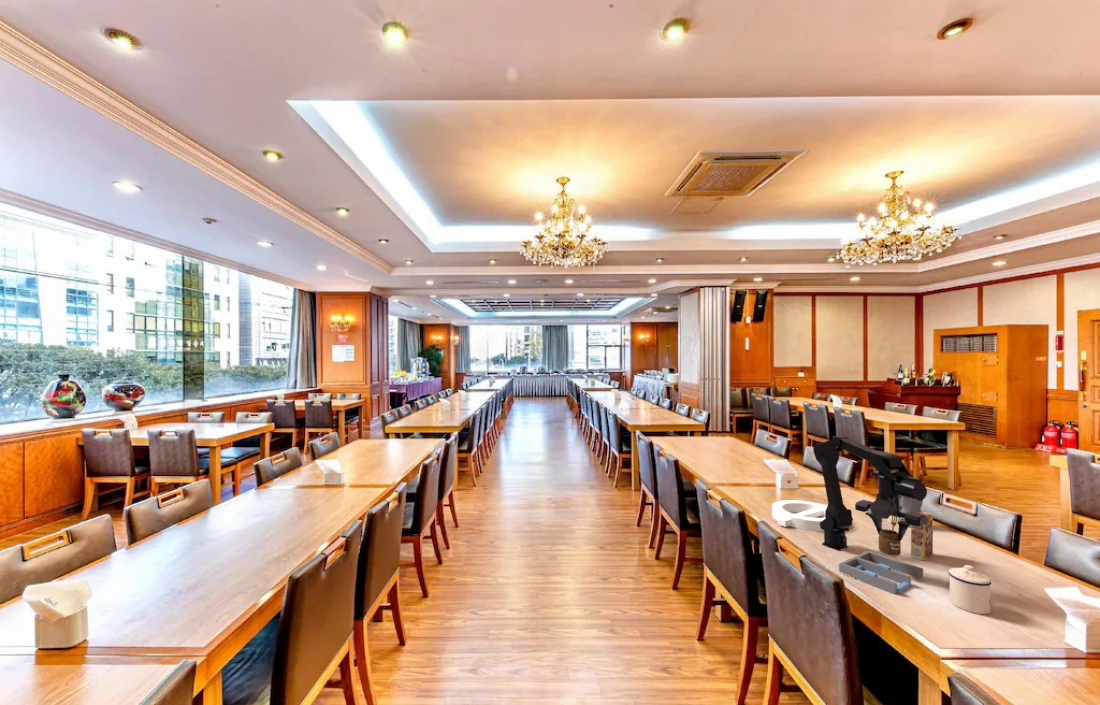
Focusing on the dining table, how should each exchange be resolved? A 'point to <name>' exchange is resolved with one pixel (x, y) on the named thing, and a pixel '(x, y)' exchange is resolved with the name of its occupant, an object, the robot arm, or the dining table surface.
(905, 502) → the coffeepot
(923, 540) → the candy box
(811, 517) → the ring with crossbar
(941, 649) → the dining table surface
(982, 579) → the teacup with lid
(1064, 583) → the dining table surface
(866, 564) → the divider rack
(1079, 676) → the dining table surface
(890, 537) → the utensil holder
